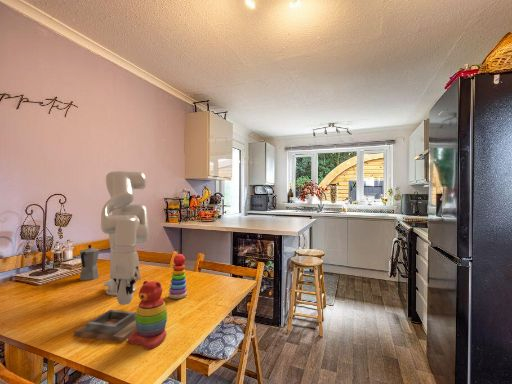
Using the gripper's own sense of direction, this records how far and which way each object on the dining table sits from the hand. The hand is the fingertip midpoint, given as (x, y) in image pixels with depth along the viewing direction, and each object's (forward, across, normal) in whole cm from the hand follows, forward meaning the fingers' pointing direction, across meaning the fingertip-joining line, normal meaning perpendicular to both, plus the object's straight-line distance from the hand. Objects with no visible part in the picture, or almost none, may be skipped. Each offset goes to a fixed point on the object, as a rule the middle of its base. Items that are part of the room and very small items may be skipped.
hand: (125, 294), depth 105 cm
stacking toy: (+6, +14, +17) cm, 23 cm away
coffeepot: (+8, -45, +29) cm, 54 cm away
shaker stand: (+5, +7, -15) cm, 17 cm away
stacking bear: (+5, +22, -17) cm, 28 cm away
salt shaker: (+3, 0, 0) cm, 3 cm away
